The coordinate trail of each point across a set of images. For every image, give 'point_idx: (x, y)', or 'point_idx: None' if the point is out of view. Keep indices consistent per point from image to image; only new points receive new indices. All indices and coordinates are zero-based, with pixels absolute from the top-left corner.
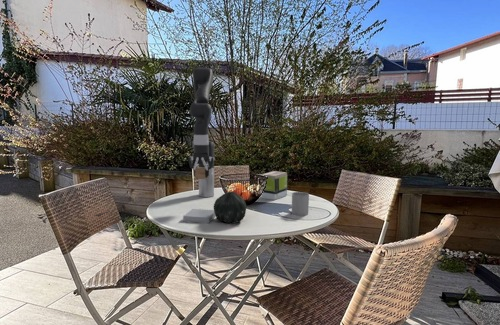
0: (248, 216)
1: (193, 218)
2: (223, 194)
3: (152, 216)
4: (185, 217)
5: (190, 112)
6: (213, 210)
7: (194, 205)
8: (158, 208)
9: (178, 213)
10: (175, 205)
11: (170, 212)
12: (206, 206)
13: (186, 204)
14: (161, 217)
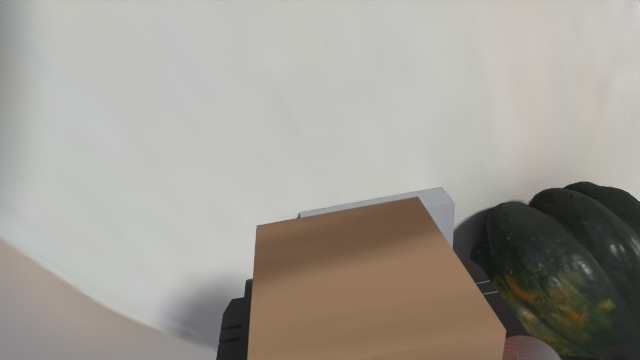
0: (626, 138)
1: None
2: (597, 358)
3: (129, 317)
4: None
5: None
6: (438, 212)
7: (190, 29)
8: (14, 201)
9: (217, 235)
10: (49, 89)
11: (160, 237)
12: (299, 21)
13: (105, 25)
14: (184, 312)
